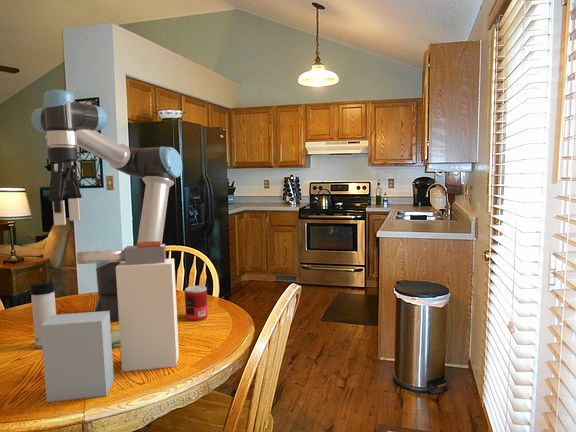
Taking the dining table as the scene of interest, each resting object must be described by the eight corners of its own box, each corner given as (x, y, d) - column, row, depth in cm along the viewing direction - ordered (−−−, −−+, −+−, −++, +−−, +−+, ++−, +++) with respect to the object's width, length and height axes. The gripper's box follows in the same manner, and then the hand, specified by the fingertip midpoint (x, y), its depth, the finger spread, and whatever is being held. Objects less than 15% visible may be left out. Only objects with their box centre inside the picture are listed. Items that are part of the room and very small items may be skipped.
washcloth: (109, 336, 144) (108, 326, 143) (165, 328, 150) (164, 319, 149) (107, 351, 131) (106, 340, 131) (168, 342, 137) (167, 332, 137)
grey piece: (81, 264, 118) (80, 243, 117) (166, 259, 121) (165, 239, 121) (76, 267, 113) (75, 246, 113) (164, 262, 117) (163, 242, 117)
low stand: (58, 385, 109) (53, 314, 107) (113, 380, 111) (109, 310, 109) (46, 402, 101) (40, 325, 99) (106, 395, 103) (101, 321, 101)
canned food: (210, 314, 163) (209, 285, 162) (204, 321, 155) (202, 291, 154) (190, 314, 163) (188, 285, 162) (183, 321, 155) (181, 291, 155)
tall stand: (127, 359, 124) (121, 261, 121) (178, 354, 126) (174, 258, 124) (122, 371, 116) (115, 267, 113) (176, 366, 118) (171, 263, 116)
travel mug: (34, 351, 132) (29, 285, 130) (35, 344, 137) (30, 281, 136) (58, 347, 134) (53, 282, 133) (58, 340, 140) (53, 278, 138)
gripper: (62, 150, 135) (67, 219, 137) (30, 144, 111) (37, 227, 113) (88, 149, 136) (92, 218, 138) (62, 143, 112) (68, 226, 114)
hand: (67, 222), depth 125 cm, fingers open, 13 cm apart
